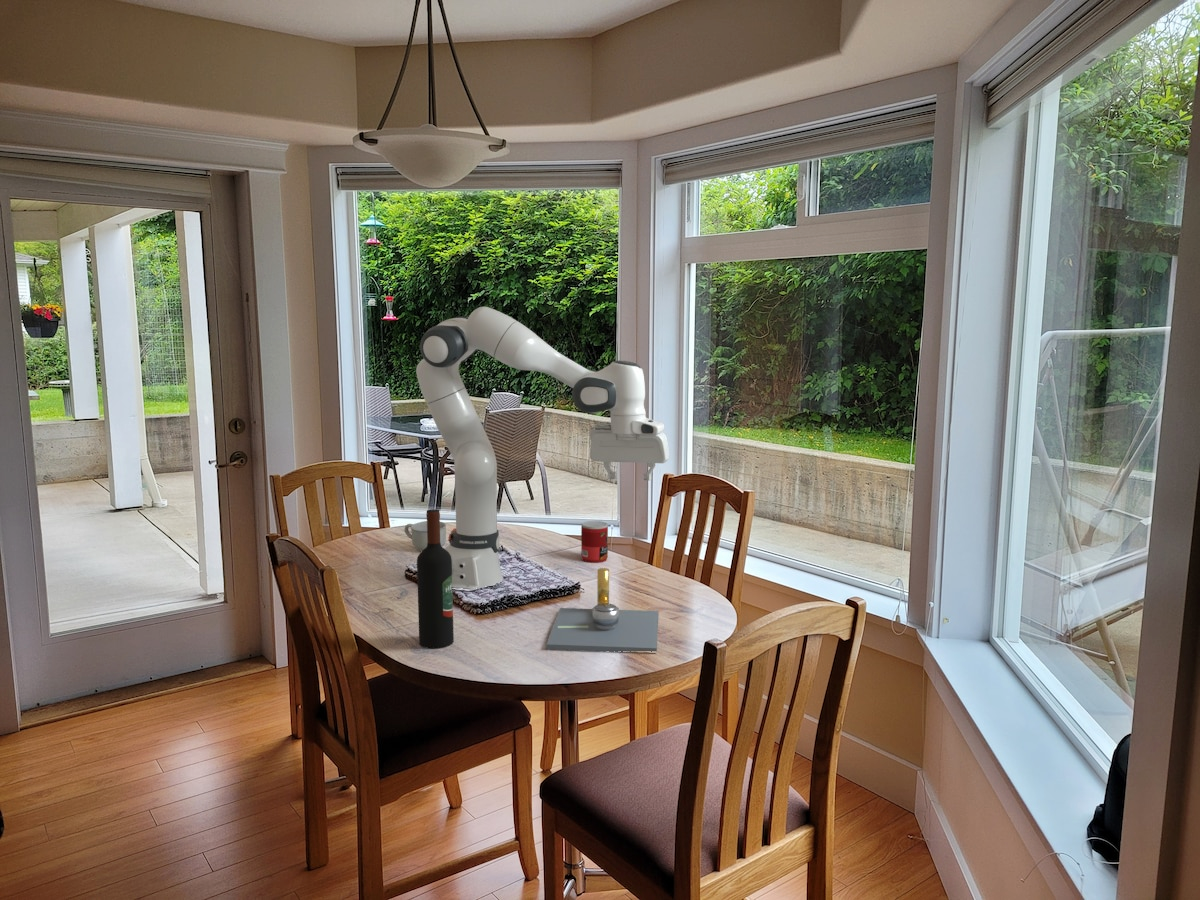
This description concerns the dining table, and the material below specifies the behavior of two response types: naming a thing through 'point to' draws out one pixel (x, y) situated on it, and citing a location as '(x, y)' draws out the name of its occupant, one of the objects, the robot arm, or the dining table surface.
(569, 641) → the base
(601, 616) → the door handle
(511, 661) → the dining table surface
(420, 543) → the teacup
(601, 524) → the canned food
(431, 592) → the wine bottle
